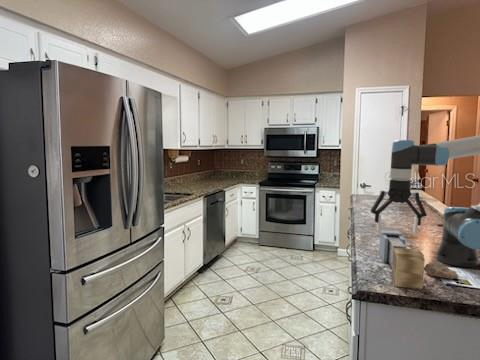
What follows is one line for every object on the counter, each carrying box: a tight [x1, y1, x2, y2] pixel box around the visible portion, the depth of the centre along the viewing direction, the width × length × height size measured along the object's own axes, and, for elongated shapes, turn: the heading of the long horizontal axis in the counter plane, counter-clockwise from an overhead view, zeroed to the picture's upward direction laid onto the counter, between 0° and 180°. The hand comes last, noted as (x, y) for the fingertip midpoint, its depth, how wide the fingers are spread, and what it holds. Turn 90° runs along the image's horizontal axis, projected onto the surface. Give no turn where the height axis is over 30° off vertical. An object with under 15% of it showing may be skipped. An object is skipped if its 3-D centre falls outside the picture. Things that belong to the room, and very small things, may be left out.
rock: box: [424, 261, 459, 280], centre depth 125 cm, size 9×6×10 cm
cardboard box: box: [391, 248, 425, 290], centre depth 117 cm, size 8×7×12 cm
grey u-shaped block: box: [378, 229, 406, 263], centre depth 142 cm, size 8×11×11 cm
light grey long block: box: [386, 235, 407, 268], centre depth 138 cm, size 5×18×9 cm, turn 167°
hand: (396, 231), depth 133 cm, fingers open, 13 cm apart
